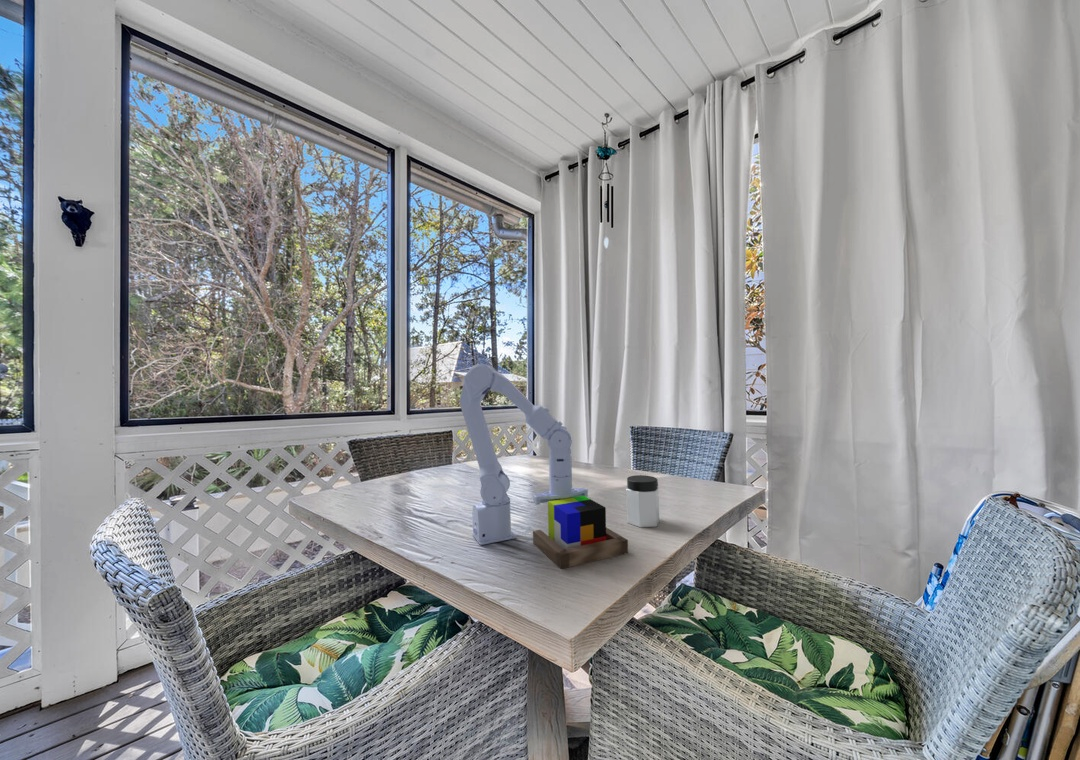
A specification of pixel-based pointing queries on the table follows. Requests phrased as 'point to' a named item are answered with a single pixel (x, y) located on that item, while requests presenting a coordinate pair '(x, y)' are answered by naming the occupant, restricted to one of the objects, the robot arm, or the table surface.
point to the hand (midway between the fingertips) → (561, 528)
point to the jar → (642, 501)
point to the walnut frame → (580, 549)
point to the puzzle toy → (576, 521)
